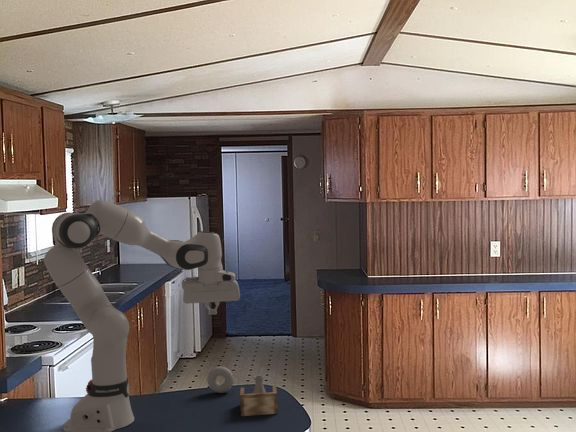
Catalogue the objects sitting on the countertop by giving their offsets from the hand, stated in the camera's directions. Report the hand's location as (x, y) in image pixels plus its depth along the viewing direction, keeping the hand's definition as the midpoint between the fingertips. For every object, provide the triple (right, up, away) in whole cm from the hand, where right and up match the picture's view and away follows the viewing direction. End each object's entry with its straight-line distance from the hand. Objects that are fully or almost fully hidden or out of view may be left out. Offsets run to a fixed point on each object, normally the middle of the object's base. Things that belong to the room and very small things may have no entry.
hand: (212, 314), depth 225 cm
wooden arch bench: (+17, -31, -10) cm, 37 cm away
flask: (+17, -31, -6) cm, 36 cm away
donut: (+2, -31, +9) cm, 32 cm away
